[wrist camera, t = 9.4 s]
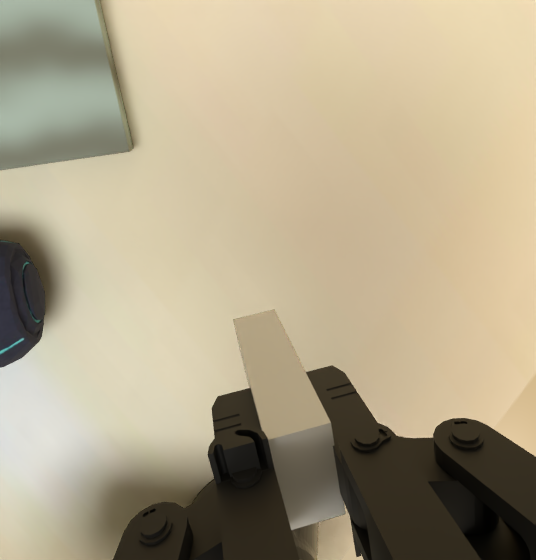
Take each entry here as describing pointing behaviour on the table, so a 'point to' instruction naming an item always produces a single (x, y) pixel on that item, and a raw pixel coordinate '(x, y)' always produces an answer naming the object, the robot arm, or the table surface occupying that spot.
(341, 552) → the table surface
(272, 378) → the robot arm
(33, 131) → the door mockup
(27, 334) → the portable speaker
